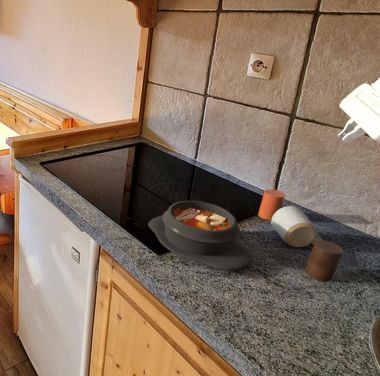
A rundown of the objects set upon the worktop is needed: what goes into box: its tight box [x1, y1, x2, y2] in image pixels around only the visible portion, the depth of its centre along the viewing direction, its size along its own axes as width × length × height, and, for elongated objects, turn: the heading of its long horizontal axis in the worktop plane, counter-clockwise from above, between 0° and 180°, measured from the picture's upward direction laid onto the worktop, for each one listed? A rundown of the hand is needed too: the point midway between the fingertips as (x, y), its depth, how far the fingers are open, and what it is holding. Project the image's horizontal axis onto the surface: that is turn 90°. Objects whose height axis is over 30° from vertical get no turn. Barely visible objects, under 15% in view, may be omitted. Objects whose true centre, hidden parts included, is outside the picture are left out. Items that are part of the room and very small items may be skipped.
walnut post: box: [304, 240, 344, 283], centre depth 86 cm, size 5×5×7 cm
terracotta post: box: [257, 188, 286, 221], centre depth 109 cm, size 5×5×7 cm
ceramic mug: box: [270, 205, 324, 248], centre depth 98 cm, size 11×8×8 cm
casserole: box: [147, 200, 253, 271], centre depth 95 cm, size 25×19×8 cm
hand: (342, 139), depth 96 cm, fingers closed
